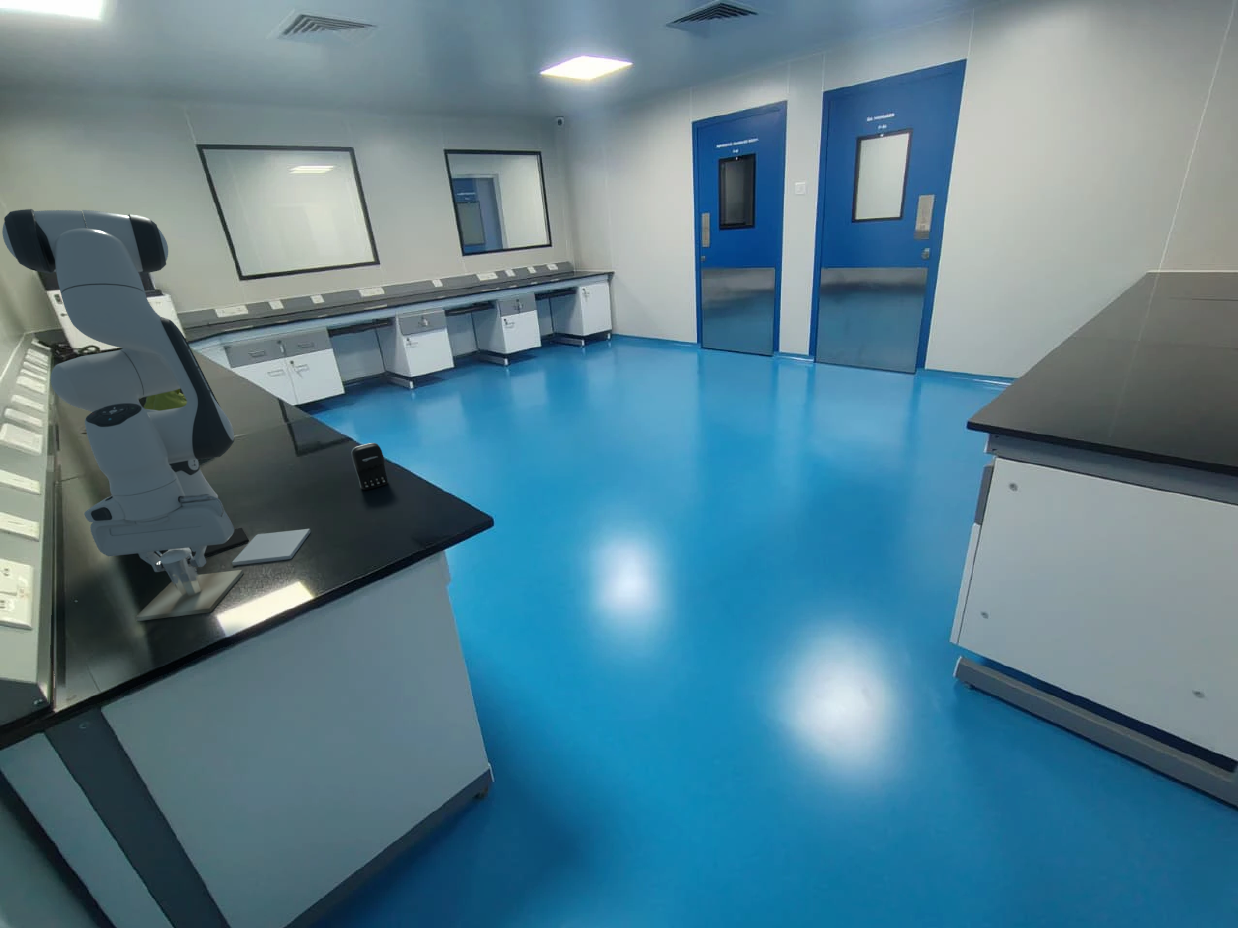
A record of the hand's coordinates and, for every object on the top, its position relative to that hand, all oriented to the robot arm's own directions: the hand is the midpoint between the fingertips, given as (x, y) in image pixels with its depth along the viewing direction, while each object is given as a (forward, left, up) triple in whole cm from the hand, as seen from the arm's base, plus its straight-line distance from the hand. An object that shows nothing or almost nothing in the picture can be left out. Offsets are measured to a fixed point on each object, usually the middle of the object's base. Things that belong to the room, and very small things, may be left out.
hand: (181, 567), depth 98 cm
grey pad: (+8, +15, -6) cm, 18 cm away
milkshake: (0, 0, -6) cm, 6 cm away
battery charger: (+22, +42, -6) cm, 48 cm away
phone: (-7, +18, -7) cm, 21 cm away
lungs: (-46, +87, -6) cm, 98 cm away
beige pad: (0, 0, -6) cm, 6 cm away
